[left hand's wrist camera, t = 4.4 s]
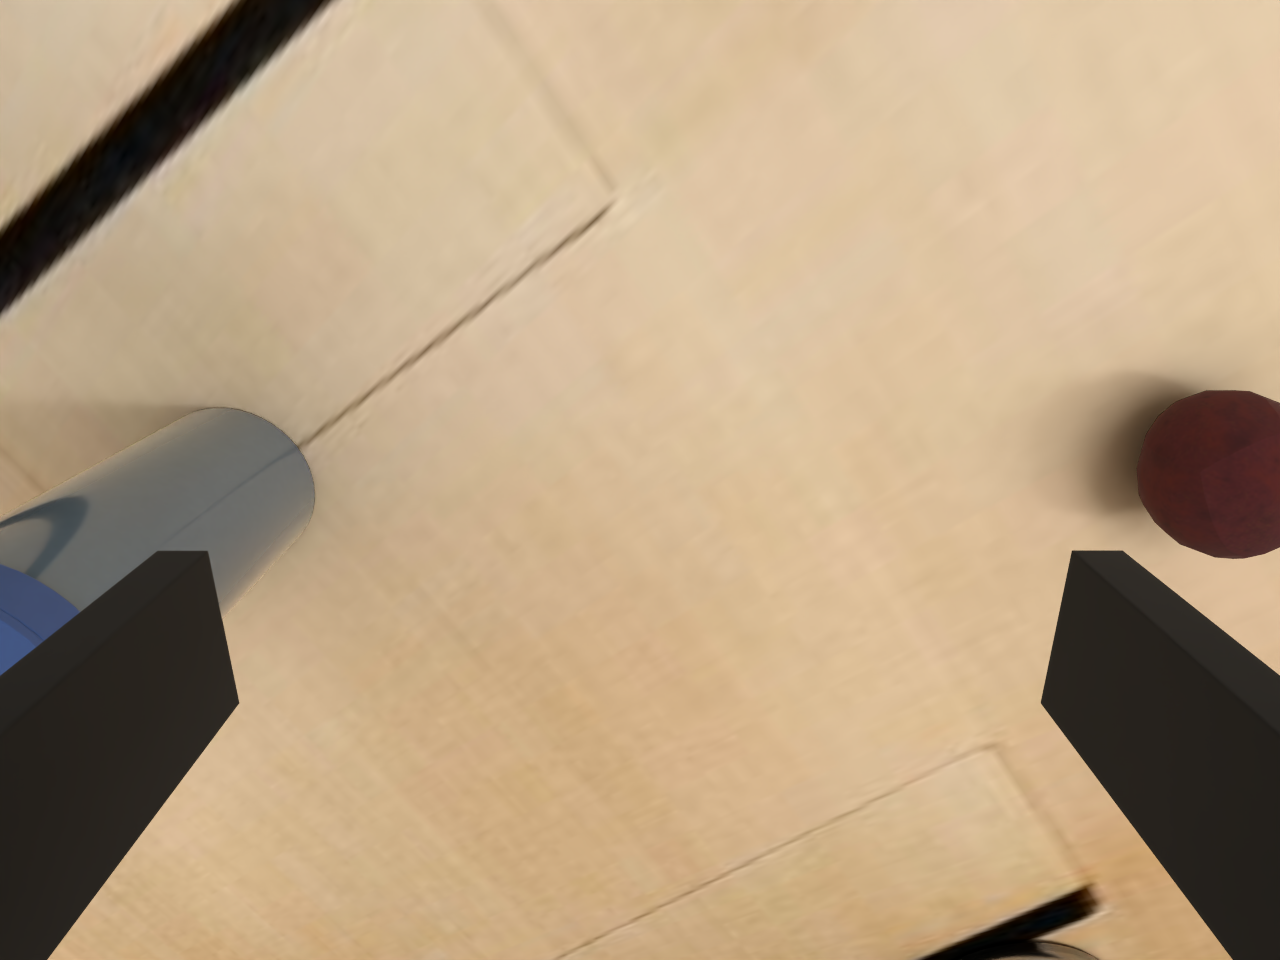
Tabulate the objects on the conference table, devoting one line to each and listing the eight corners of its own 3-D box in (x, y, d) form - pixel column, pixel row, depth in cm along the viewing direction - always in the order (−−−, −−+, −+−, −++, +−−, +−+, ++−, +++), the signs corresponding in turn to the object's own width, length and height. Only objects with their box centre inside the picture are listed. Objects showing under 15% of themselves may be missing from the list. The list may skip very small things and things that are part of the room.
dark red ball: (1140, 543, 43) (1230, 611, 36) (1080, 424, 41) (1166, 474, 34) (1279, 469, 41) (1400, 526, 35) (1226, 342, 39) (1344, 377, 33)
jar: (182, 377, 40) (-176, 542, 22) (339, 455, 41) (118, 668, 24) (131, 512, 43) (-226, 755, 25) (281, 582, 44) (43, 857, 26)
